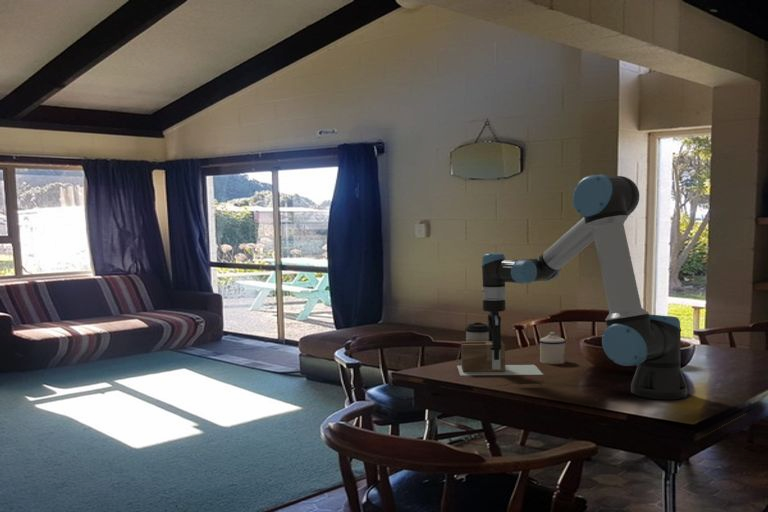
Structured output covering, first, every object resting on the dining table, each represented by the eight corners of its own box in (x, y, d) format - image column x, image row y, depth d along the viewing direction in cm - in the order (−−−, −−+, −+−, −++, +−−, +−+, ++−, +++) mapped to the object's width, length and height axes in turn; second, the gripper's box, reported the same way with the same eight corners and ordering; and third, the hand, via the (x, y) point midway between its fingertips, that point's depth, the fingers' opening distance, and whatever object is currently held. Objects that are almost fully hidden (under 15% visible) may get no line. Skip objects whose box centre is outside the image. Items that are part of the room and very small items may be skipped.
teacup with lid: (570, 366, 237) (570, 333, 236) (546, 368, 235) (545, 334, 235) (555, 360, 249) (554, 329, 248) (532, 361, 247) (531, 330, 246)
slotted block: (505, 371, 224) (504, 344, 224) (463, 371, 225) (462, 344, 224) (502, 367, 231) (502, 340, 231) (461, 367, 232) (461, 341, 231)
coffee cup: (490, 368, 237) (489, 325, 236) (464, 367, 238) (464, 325, 238) (491, 363, 245) (491, 322, 245) (466, 362, 247) (466, 322, 247)
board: (543, 378, 219) (543, 360, 219) (460, 378, 220) (460, 361, 220) (534, 368, 235) (534, 352, 235) (457, 368, 236) (456, 352, 236)
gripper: (479, 296, 237) (480, 361, 238) (486, 302, 217) (487, 373, 218) (501, 296, 237) (502, 361, 237) (509, 302, 217) (510, 372, 218)
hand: (494, 366), depth 228 cm, fingers closed on slotted block, 7 cm apart
